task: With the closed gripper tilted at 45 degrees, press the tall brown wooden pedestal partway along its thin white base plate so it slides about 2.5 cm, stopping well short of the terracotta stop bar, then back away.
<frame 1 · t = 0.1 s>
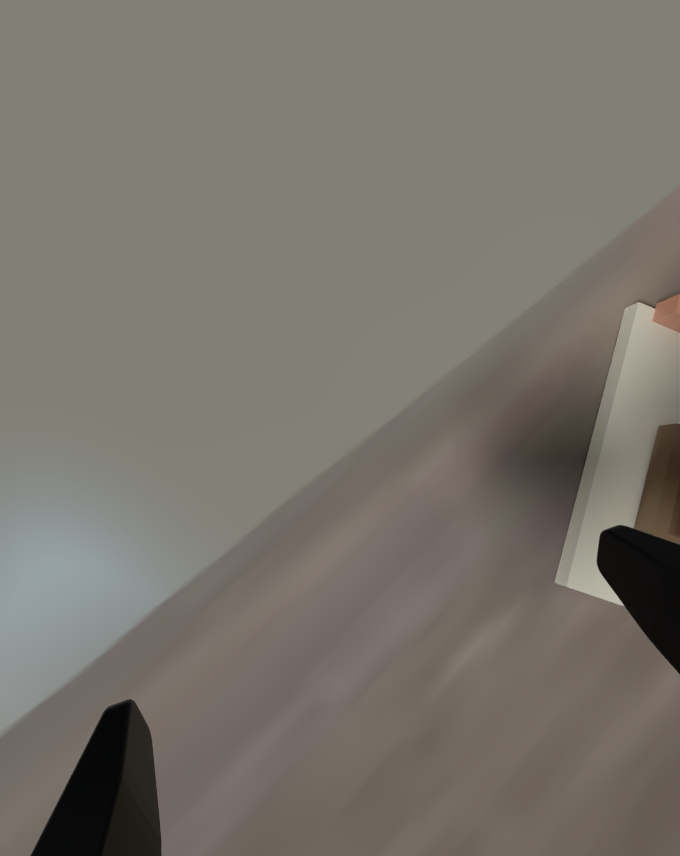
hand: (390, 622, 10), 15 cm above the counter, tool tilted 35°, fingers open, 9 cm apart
thin white base plate: (675, 501, 28), on the counter
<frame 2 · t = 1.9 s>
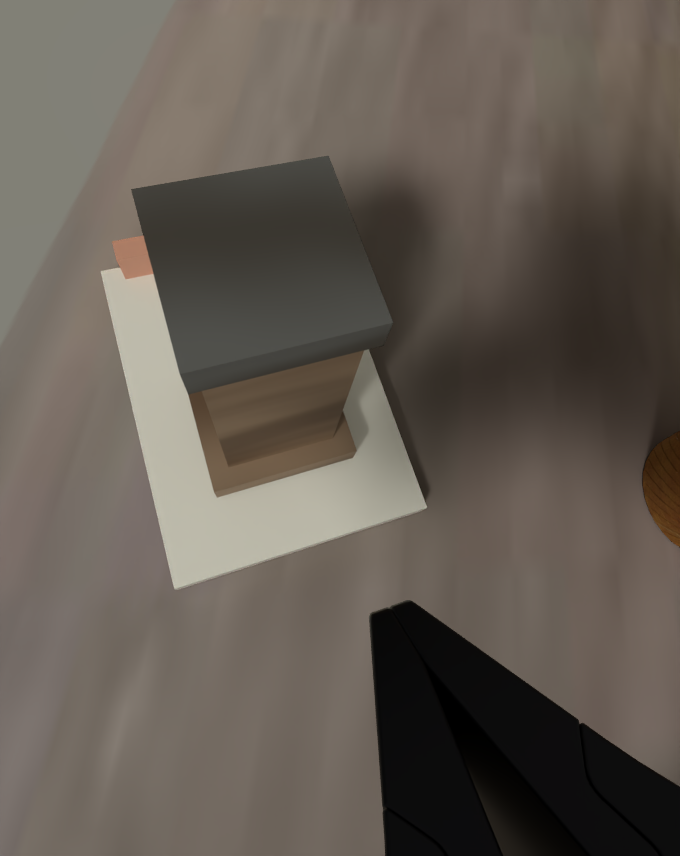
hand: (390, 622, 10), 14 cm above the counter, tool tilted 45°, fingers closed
thin white base plate: (267, 422, 25), on the counter
brown wooden pedestal: (265, 357, 18), point 7 cm above the counter, slide at 0.0 cm
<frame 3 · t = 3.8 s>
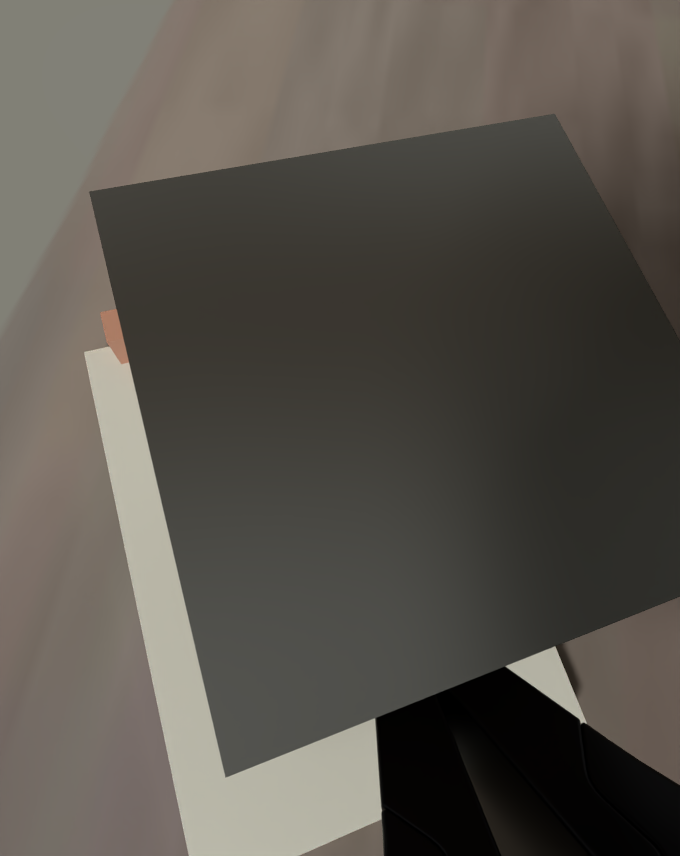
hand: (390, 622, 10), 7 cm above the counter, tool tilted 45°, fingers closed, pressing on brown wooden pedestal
thin white base plate: (334, 580, 16), on the counter
brown wooden pedestal: (348, 491, 10), point 7 cm above the counter, slide at 1.4 cm, touching gripper
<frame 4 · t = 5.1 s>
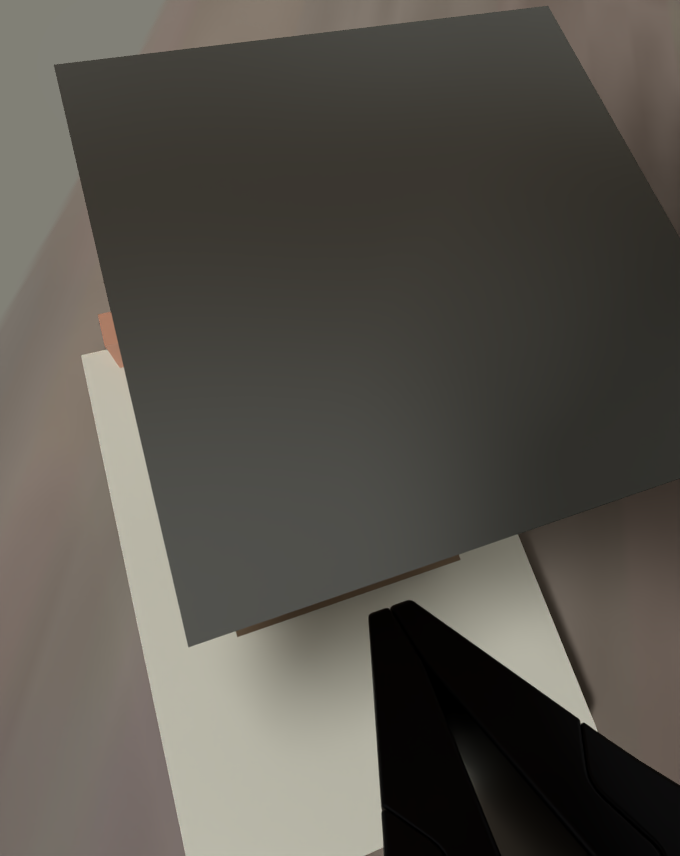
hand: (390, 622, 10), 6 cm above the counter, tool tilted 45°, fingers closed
thin white base plate: (340, 593, 16), on the counter
brown wooden pedestal: (337, 436, 10), point 7 cm above the counter, slide at 2.9 cm
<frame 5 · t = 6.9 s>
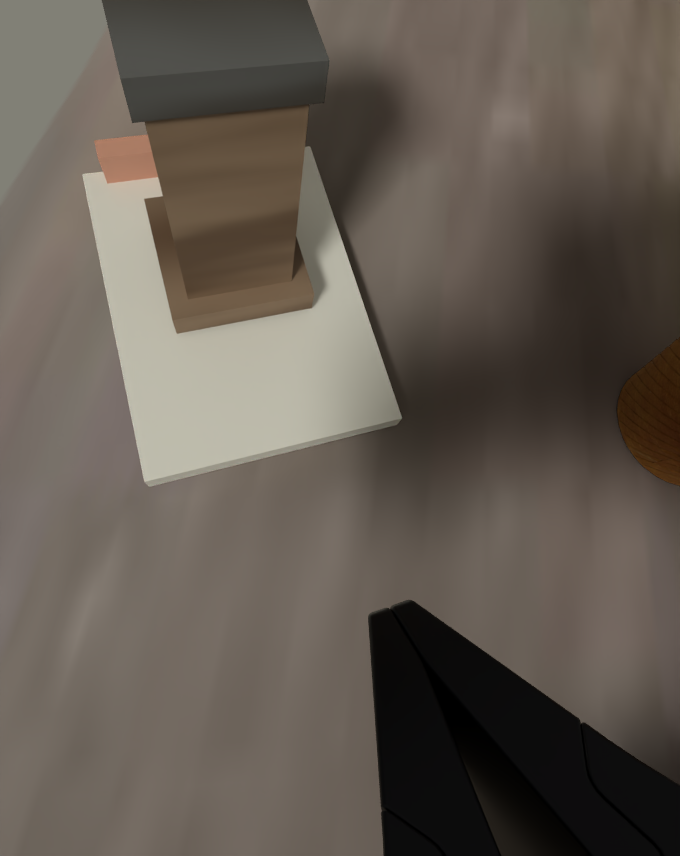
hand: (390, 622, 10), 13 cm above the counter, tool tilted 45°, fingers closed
thin white base plate: (246, 332, 25), on the counter
brown wooden pedestal: (221, 166, 19), point 7 cm above the counter, slide at 2.9 cm
disposable coffee cup: (672, 425, 27), on the counter
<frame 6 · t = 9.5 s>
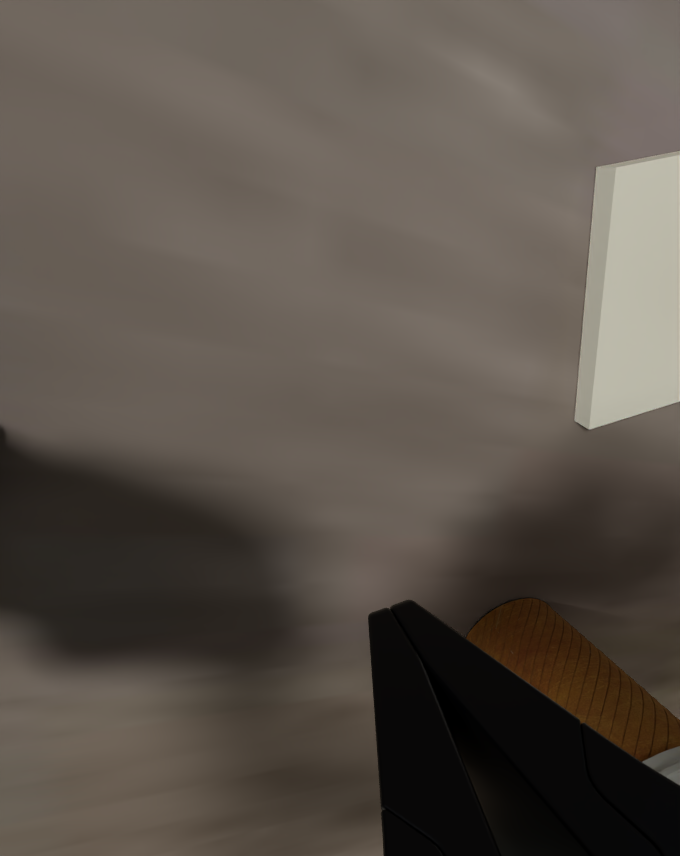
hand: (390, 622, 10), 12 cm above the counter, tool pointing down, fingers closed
disposable coffee cup: (504, 636, 32), on the counter
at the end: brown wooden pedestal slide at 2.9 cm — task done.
